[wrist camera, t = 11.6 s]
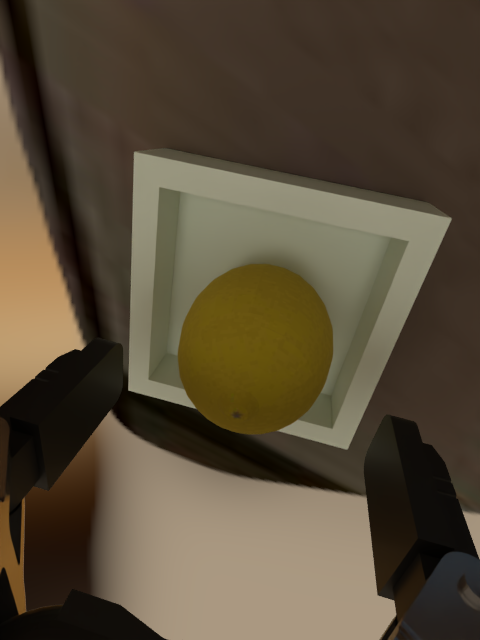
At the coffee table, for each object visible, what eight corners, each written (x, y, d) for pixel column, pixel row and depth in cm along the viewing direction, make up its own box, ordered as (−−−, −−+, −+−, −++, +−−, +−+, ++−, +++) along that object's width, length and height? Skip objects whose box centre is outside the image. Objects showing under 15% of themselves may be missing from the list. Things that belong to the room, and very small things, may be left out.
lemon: (230, 355, 19) (178, 486, 12) (197, 254, 17) (111, 342, 10) (338, 341, 17) (352, 482, 10) (319, 227, 15) (319, 310, 8)
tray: (428, 202, 15) (451, 218, 12) (343, 407, 20) (347, 449, 17) (165, 148, 15) (134, 152, 13) (152, 357, 21) (128, 390, 18)
